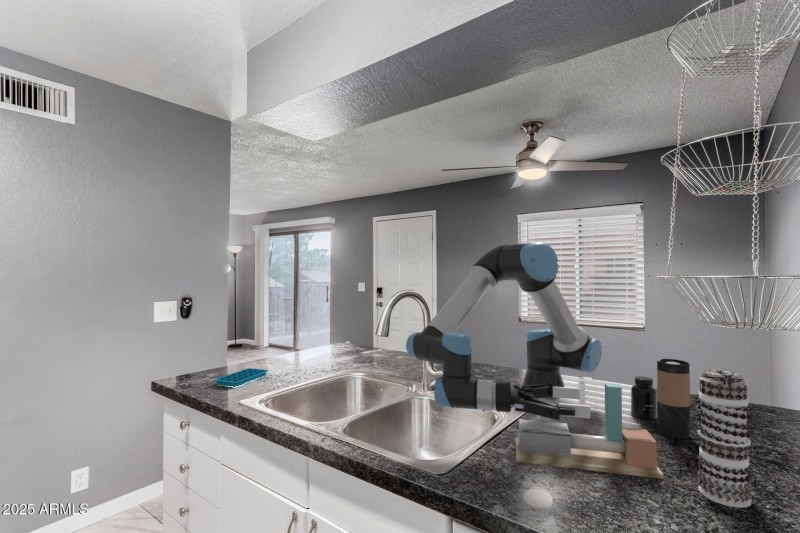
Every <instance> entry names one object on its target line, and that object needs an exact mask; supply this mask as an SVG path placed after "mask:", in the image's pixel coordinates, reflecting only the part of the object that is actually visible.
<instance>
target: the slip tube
mask: <svg viewBox="0 0 800 533" xmlns="http://www.w3.org/2000/svg"><path fill="white" fill-rule="evenodd" d="M622 389H623V388H622V386H621V385H620V384H619V383H607V382H604V433H605V434H604V436H601V435H589V434H582V433H581V434H579V433H573V432H572V433H571V432H570V434H571V448H573V449H582V450H592V451H601V452H610V453H620V454H626V440H625V439H624V438H622V428H623V409H622V408H623V407H622V406H623V405H622V404H623V403H622V402H623V397H622V396H623V394H622V391H623V390H622Z"/></svg>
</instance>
